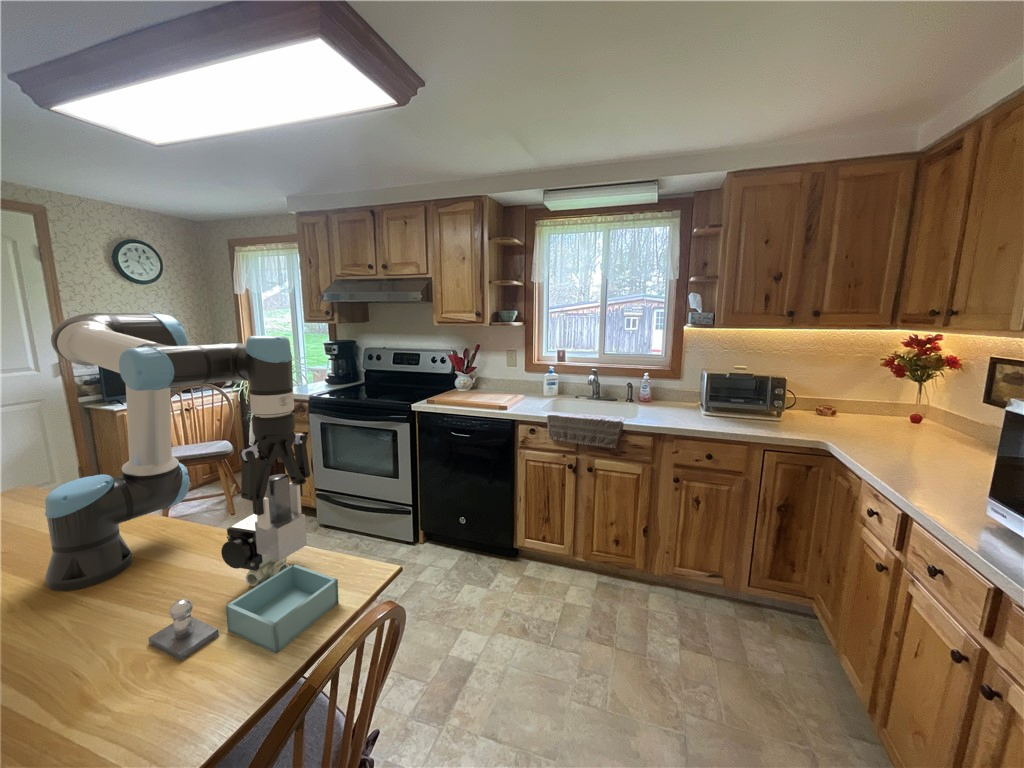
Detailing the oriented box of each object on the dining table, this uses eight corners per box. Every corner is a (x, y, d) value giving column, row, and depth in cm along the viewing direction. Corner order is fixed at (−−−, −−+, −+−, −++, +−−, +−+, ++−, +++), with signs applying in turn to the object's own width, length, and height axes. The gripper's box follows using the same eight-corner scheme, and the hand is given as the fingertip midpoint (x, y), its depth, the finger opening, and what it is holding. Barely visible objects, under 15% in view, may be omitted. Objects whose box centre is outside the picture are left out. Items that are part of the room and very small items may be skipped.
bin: (227, 631, 85) (225, 605, 84) (294, 586, 100) (293, 563, 99) (275, 654, 80) (273, 626, 79) (338, 602, 95) (337, 579, 94)
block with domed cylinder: (279, 561, 83) (274, 486, 81) (257, 553, 86) (251, 480, 83) (306, 544, 89) (302, 474, 87) (285, 537, 92) (280, 469, 89)
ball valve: (255, 603, 94) (250, 531, 91) (224, 597, 95) (217, 526, 92) (309, 559, 111) (305, 497, 108) (281, 554, 113) (277, 493, 110)
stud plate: (149, 644, 81) (144, 604, 80) (188, 620, 88) (184, 583, 86) (180, 661, 78) (176, 620, 76) (218, 635, 84) (215, 597, 83)
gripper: (237, 426, 72) (247, 547, 76) (326, 405, 90) (330, 504, 94) (210, 421, 75) (220, 538, 79) (301, 402, 93) (306, 498, 97)
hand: (280, 519), depth 86 cm, fingers closed on block with domed cylinder, 7 cm apart
